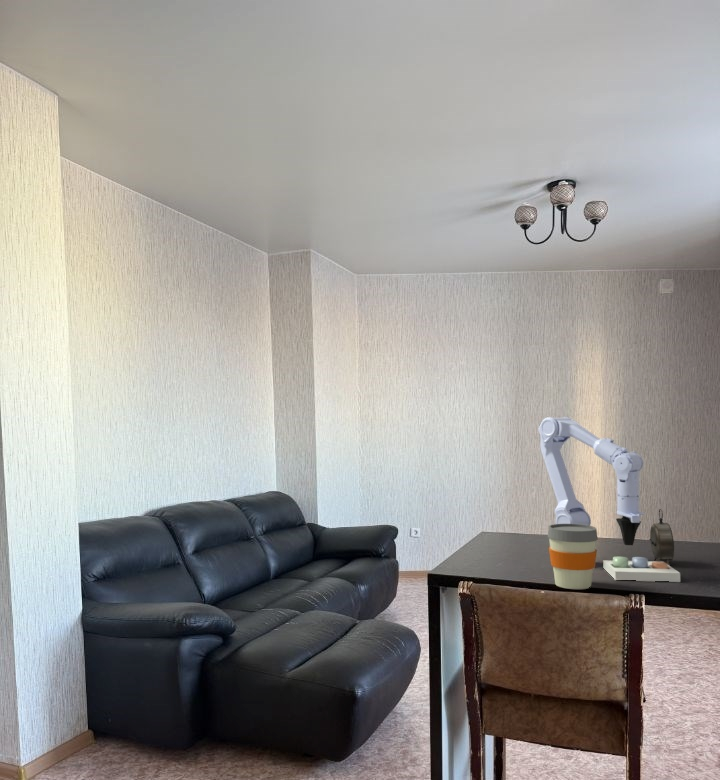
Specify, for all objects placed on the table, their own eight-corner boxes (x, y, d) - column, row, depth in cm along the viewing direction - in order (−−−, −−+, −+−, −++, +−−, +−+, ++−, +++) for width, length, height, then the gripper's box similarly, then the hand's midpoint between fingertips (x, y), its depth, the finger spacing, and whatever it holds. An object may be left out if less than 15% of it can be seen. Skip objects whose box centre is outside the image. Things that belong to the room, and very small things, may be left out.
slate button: (634, 570, 187) (634, 559, 188) (630, 567, 191) (630, 556, 192) (649, 571, 187) (649, 560, 187) (645, 567, 191) (645, 557, 191)
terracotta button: (654, 575, 187) (654, 564, 187) (650, 572, 191) (649, 561, 191) (669, 576, 186) (669, 565, 186) (665, 572, 190) (664, 561, 190)
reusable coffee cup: (541, 579, 185) (540, 523, 185) (586, 578, 185) (586, 523, 186) (558, 591, 172) (557, 531, 173) (606, 590, 173) (605, 531, 173)
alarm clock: (675, 567, 198) (674, 511, 198) (655, 567, 199) (654, 511, 200) (666, 559, 209) (665, 506, 209) (647, 559, 210) (647, 506, 210)
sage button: (615, 570, 188) (614, 559, 188) (611, 567, 192) (611, 556, 192) (630, 570, 188) (629, 559, 188) (626, 567, 192) (626, 556, 192)
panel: (615, 580, 183) (615, 571, 183) (603, 568, 197) (603, 560, 197) (680, 582, 181) (680, 573, 181) (663, 570, 195) (663, 561, 195)
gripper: (651, 499, 183) (651, 550, 182) (635, 492, 197) (635, 540, 197) (623, 498, 183) (624, 549, 183) (610, 492, 198) (610, 539, 197)
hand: (628, 544), depth 190 cm, fingers closed
